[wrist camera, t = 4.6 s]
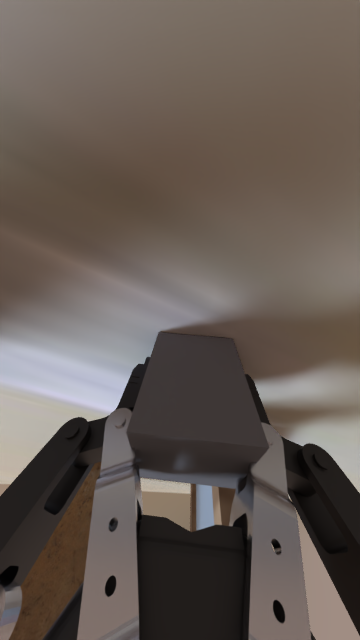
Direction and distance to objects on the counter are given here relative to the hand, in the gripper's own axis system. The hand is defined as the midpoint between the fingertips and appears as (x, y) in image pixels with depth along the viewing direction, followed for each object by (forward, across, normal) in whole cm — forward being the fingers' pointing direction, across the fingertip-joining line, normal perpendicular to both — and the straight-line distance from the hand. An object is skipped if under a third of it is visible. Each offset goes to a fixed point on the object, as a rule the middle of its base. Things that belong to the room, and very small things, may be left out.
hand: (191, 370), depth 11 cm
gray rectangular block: (+1, 0, 0) cm, 1 cm away
